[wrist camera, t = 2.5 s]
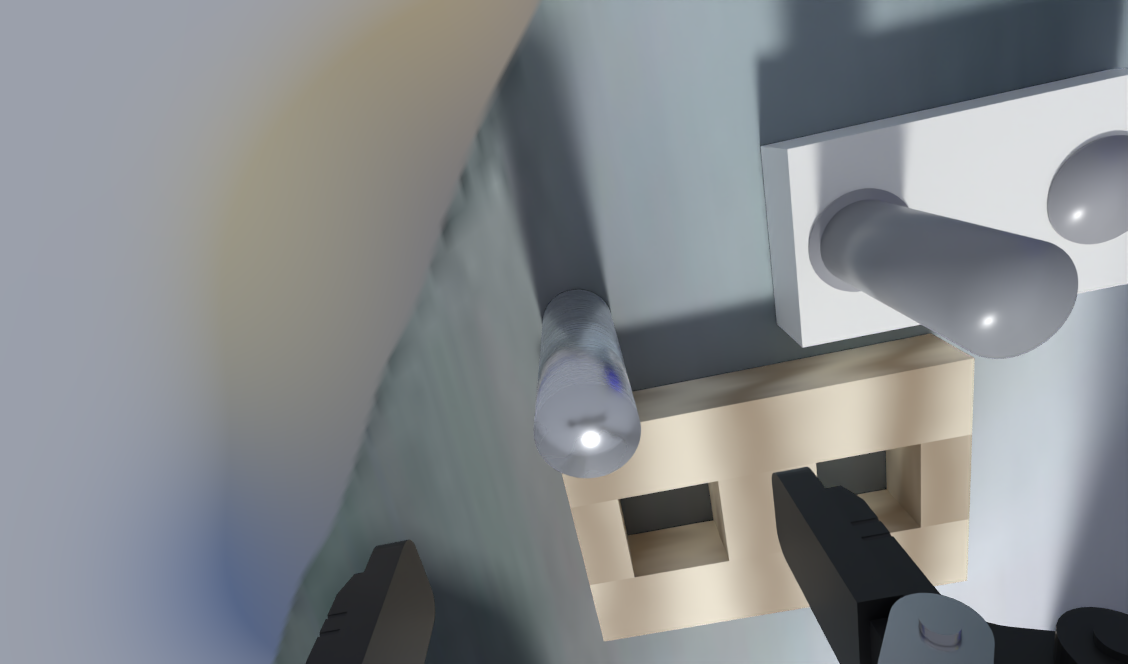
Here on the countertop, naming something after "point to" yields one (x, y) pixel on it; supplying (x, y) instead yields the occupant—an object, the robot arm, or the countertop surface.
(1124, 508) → the countertop surface
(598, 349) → the steel pin
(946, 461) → the pin board
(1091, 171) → the block
